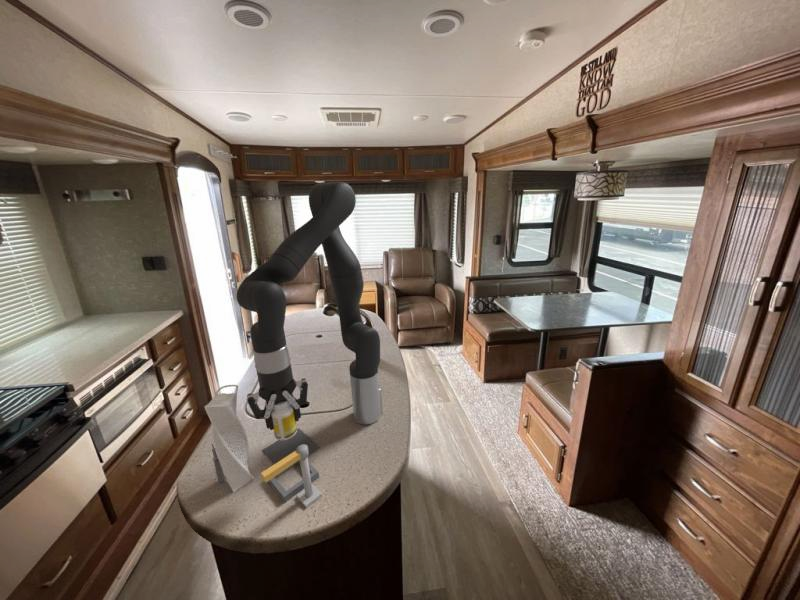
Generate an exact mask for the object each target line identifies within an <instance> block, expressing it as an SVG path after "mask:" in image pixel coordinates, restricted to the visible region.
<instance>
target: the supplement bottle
mask: <svg viewBox="0 0 800 600" xmlns="http://www.w3.org/2000/svg"><path fill="white" fill-rule="evenodd" d="M270 414H271V419H272V424H273V434H274V437H275V439H276V440H277V441H278V440H287V439H290V438H292V437H293V436H294V435H295V434H296V432H297V429H298V425H297V422H296V420H295V414H294V408H293V406H292V404H290V403H289V401H288V400H287V401H285V402H280V403H278V404H275V405H273V408H272V410H271V413H270Z"/></svg>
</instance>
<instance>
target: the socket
mask: <svg viewBox="0 0 800 600" xmlns="http://www.w3.org/2000/svg"><path fill="white" fill-rule="evenodd" d="M308 457H309V456H308ZM308 457H307V458H306V459H303V460H299V461H297V462H296V463H294V464H293V465H291V466H290V467H288V468H287V469H286V470H284V471H283V472H281V473H280V474H278V475H277V476H275V477H274V478H272V479H271V480H269V481H268V482H267V483H269V484H270V486H271V487H272V488H273V489H274V491H275V492H276V493H277V495H278V496H279V497H280V498H281V500H282V501H283V502H284V503H287V502H289V500H291V499H292V498H294V497H295V496H296V498H297V500H298V501H300V503H301V504H302V505H303V506H304V507H305V509H307V508H309V507H310V506H311V505H313V504H314V503H315V502H316V501H318V500H319V499H320V498H321V497H323V493H322V492H321V491H320V490H319V489H318V488H317V487H316V485H314V484H313V483H314V482H315V481H316V480H317V479H319V478H320V473H319V471H318V470H317V469H316V468H315V467H314V466H313V465H312V464H311V463H310V462H309V458H308ZM297 464H298V465H300V469H301V470H300V471H301V476H302V479H301V480H299V481H298V482H296V483H295V484H293V486H291V487H289V488H288V489H287V490H286V489H285V487H284V486H283V485H282V484H281V483H280V482H279V481H278V480H277V478H278V477H280V476H281V475H283V474H284V473H285V472H287V471H288V470H290V469H291V468H293V467H294V466H296V465H297Z"/></svg>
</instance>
